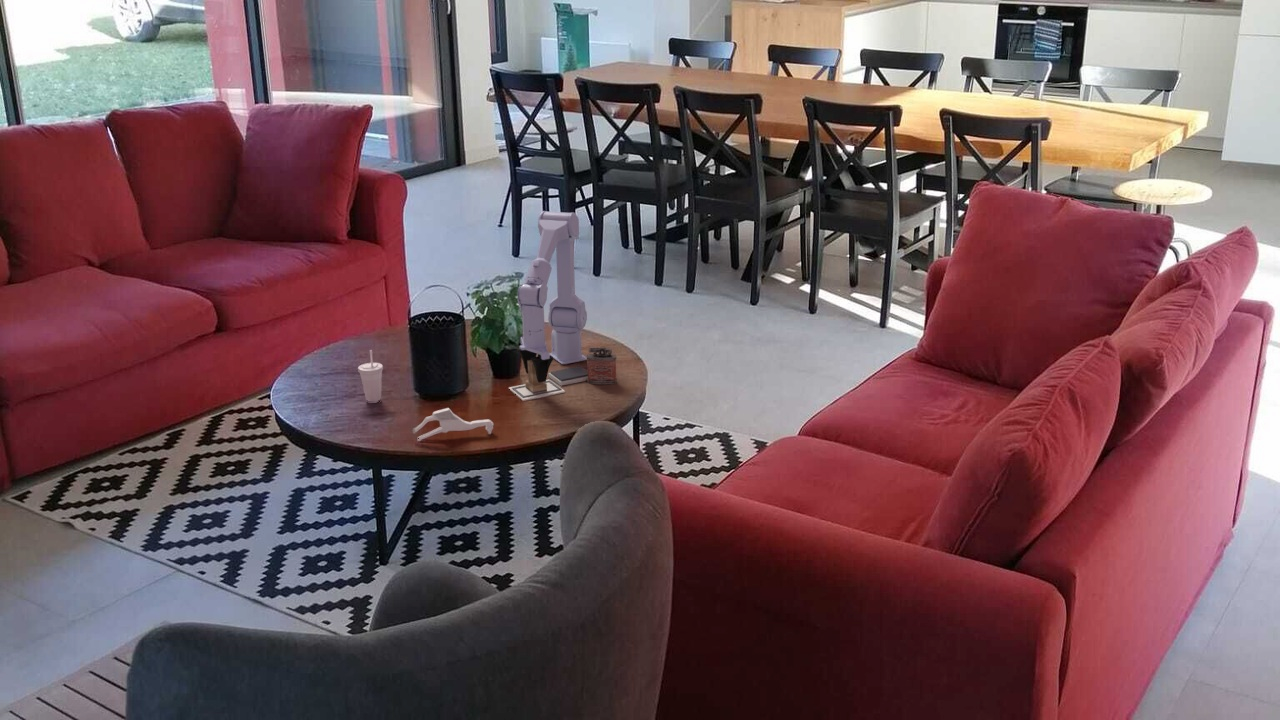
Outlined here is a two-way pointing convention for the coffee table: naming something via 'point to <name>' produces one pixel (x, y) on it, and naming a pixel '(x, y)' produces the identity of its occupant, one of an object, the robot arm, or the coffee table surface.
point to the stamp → (534, 380)
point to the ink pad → (569, 375)
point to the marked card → (527, 395)
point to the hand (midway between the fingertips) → (536, 377)
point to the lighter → (601, 366)
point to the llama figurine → (451, 423)
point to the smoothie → (371, 379)
